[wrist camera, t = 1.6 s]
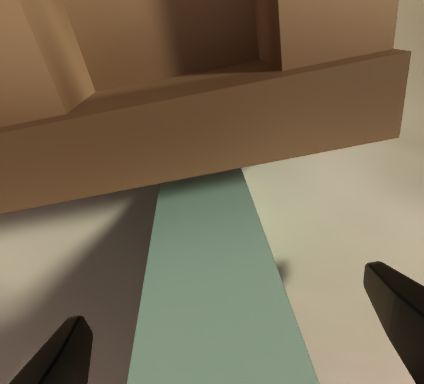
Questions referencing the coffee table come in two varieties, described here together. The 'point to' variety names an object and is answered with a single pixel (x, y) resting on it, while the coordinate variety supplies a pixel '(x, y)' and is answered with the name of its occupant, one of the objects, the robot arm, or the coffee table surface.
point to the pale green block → (214, 293)
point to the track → (186, 89)
